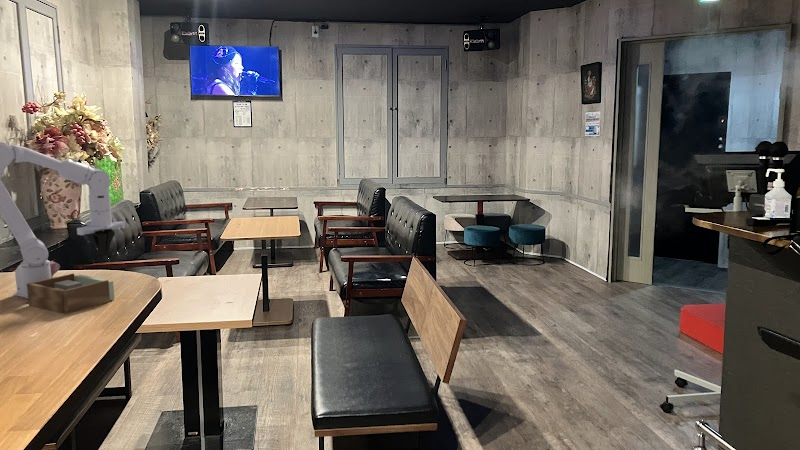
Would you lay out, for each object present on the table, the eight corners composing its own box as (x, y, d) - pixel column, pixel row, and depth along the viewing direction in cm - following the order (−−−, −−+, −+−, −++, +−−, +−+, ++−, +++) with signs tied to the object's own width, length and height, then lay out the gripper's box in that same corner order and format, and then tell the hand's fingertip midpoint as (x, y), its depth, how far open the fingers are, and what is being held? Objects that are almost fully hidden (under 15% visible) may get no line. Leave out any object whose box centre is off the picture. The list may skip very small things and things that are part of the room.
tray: (34, 303, 171) (32, 284, 170) (83, 291, 184) (82, 273, 183) (68, 311, 164) (67, 292, 163) (117, 298, 176) (116, 280, 175)
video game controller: (35, 289, 193) (42, 269, 191) (22, 281, 193) (29, 262, 192) (57, 281, 202) (64, 262, 201) (46, 274, 203) (52, 255, 201)
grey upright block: (68, 304, 169) (67, 285, 168) (55, 300, 172) (53, 283, 171) (83, 300, 172) (81, 282, 171) (69, 297, 175) (68, 279, 174)
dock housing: (28, 305, 170) (26, 283, 169) (74, 293, 182) (72, 273, 181) (64, 314, 162) (62, 291, 162) (110, 301, 174) (108, 280, 173)
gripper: (86, 214, 178) (90, 261, 181) (130, 208, 191) (133, 252, 193) (71, 212, 182) (75, 258, 184) (115, 206, 194) (118, 249, 197)
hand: (103, 255), depth 189 cm, fingers closed
